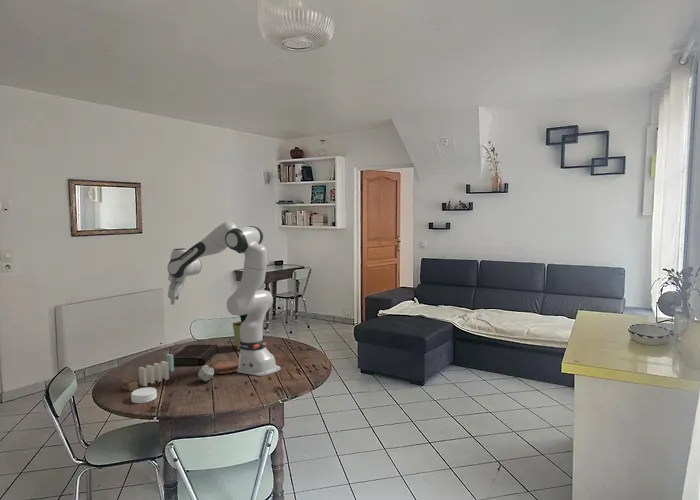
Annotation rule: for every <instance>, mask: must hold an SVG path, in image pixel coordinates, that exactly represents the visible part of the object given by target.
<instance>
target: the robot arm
mask: <svg viewBox="0 0 700 500" xmlns="http://www.w3.org/2000/svg"><path fill="white" fill-rule="evenodd" d="M263 233H264V232H263V231H262V230H261V229H260V228H259V227H258V226H253V225H251V226H250V225H249V226H240V227H238V226H237V224H235V223H234V222H232V221H228V220H227V221H224V222H223V223H220V225H218V226H217V227H215V228H214V229H213V230H212V231H211V232H210V233H208V234H207V235H206V236H205V237H203V238H202V239H201V240H200V241H198V242H197V243H196V244H194V245H193V246H191V247H190V248H188V249H186V248H179V247H178V248H174V249H172V251H171V254H170V257H169V258H170V259H169V262H168V265H167V272H168V278H167V280H168V281H169V283H170V284H169V286H168V294H167V298H168V299H170V305H171V306H172V305H173V306H174V305H175V304H176V303H175V302H176V301H177V300H179V298H180V294H181V292H182V291H183V288H184V285H185V282H186V279H187V277H189V276H195V275H198V274H200V272H201V270H202V262H201V259H200V258H203V257H207V256H211V255H216V254H219V253H222V252H223V251H225V250H227V248H229V249H230V250H232V251H235V252H236V253H238V254H243V255H244V262H243V268H242V275H241V279H240V282H239V284H238V286H237V288H236V290H235V291H234V292H233V293H232V294H231V295H230V296H229V297H228V298H227V301H226V309H227V311H228V313H229V314H230V315H232V316H240V315H245V314H248V315H247V317H246V319H245V320H244V321H243V322H242V324H241V326H240V343H239V345H240V348H241V350H239V355H238V367H237V369H236V372H237V373H241V374H245V375H246V374H247V375H252V376H259V377H263V376H268V375H271V374H274V373H277V372H279V371H280V370H281V369H282V368H281V366H279V365H277V364H276V359H275V358H276V357H275V356H274V355H273V354H272V353H271V352H270V351H269V349H267V347H266V345H267V342H266V341H265V340H264V338H263V336H264V335H263V327H264V326H263V325H264V320H265V317H266V314H267V312H268V311H269V309H271V307H272V306H273V303H274V298H273V295H272V293H271V292H270V291H269V290H266V289H259V288H260V287H261V286H262V285H264V283H265V281H266V273H267V265H268V251H267V248H266V246H264V245H263V244H262V242H263V240H264V234H263ZM238 368H239V369H238Z"/></svg>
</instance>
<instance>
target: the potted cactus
mask: <svg viewBox="0 0 700 500" xmlns="http://www.w3.org/2000/svg"><path fill="white" fill-rule="evenodd" d="M247 315H248V314H245V315H239V320H238V321H237V320H236V321H234V322H233V323H232V328H233V334H234V340H235V345H236V349H237V350H238V351H240V350H241V348H240V345H239V343H240V326H241V324H242V322H243V321H244V320H245V319H246V317H247Z"/></svg>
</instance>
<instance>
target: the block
mask: <svg viewBox="0 0 700 500" xmlns="http://www.w3.org/2000/svg"><path fill="white" fill-rule="evenodd" d="M122 389H123V390H126V391H128V392H130V393H132V392H133V391H134V390H137V389H139V381H138V382H137V381H135V380H133V379H127V380H122ZM131 391H132V392H131Z"/></svg>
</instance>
